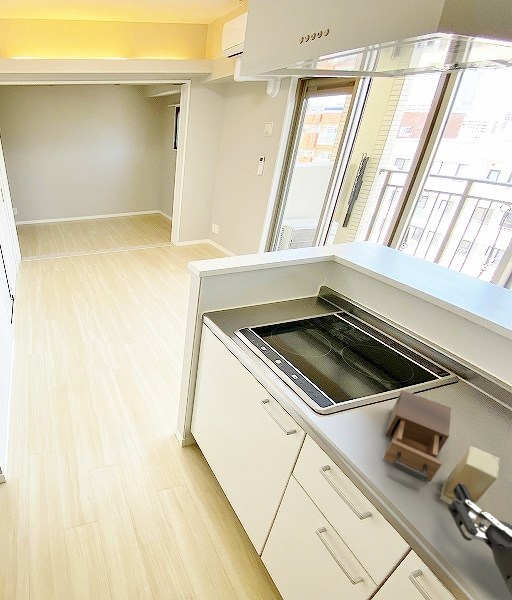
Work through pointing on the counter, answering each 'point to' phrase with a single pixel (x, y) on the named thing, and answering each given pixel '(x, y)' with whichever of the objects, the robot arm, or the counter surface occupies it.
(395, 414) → the cabinet
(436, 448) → the drawer
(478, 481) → the cosmetic box
